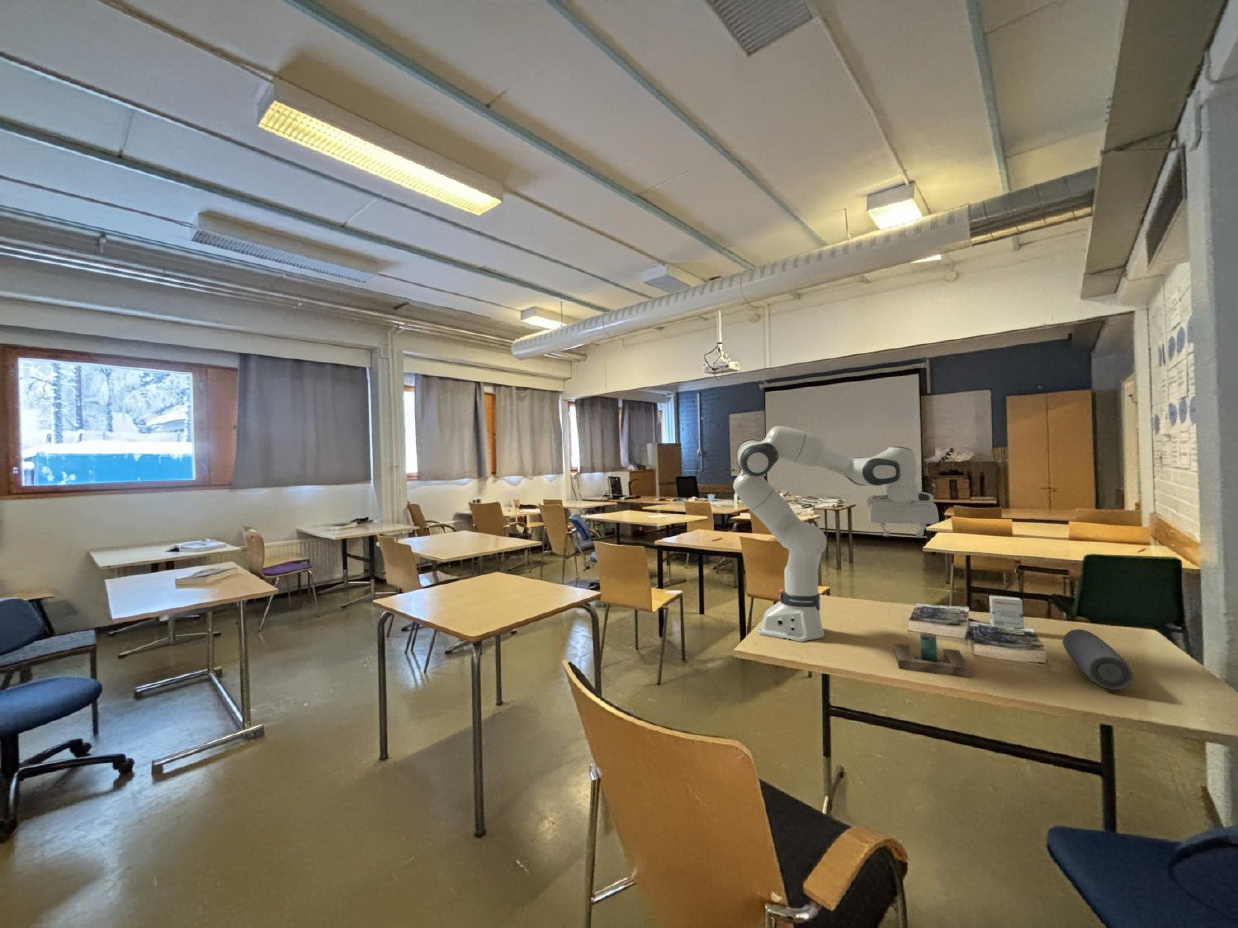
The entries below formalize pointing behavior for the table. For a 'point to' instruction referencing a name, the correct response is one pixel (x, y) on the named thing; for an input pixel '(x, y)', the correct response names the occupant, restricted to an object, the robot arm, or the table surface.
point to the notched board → (951, 667)
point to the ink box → (1006, 612)
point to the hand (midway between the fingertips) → (903, 536)
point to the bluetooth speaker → (1097, 659)
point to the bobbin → (928, 647)
